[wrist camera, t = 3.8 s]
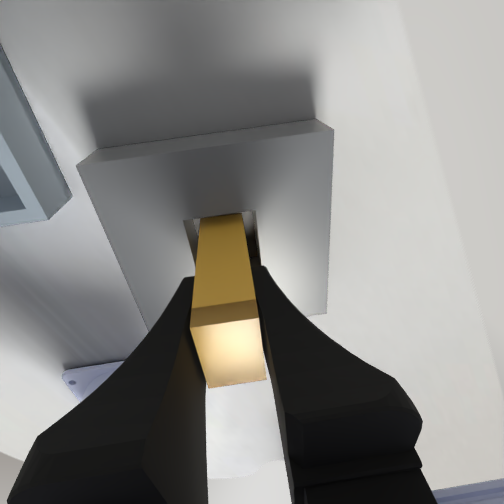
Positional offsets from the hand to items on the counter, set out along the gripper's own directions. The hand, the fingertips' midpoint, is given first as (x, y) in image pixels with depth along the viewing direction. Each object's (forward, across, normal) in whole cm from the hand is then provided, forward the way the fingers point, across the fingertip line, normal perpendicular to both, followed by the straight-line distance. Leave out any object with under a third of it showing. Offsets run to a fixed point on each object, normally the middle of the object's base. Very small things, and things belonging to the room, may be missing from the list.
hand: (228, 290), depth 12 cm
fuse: (+4, 0, 0) cm, 4 cm away
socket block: (+5, 0, 0) cm, 5 cm away
